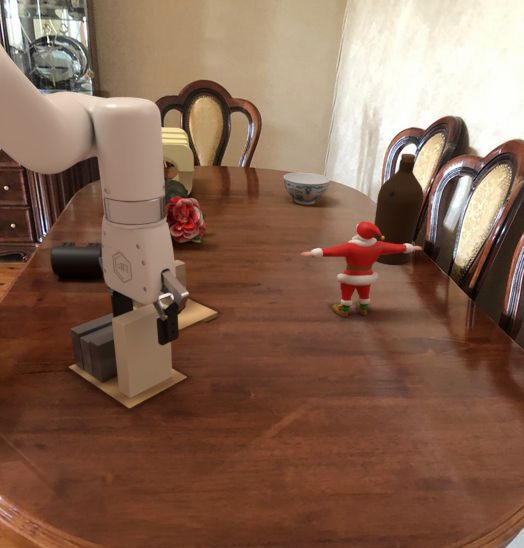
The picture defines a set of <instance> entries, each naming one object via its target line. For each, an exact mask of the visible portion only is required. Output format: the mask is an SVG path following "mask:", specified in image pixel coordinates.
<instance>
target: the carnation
mask: <svg viewBox="0 0 524 548" xmlns="http://www.w3.org/2000/svg"><path fill="white" fill-rule="evenodd" d="M164 181H165V182H164V183H165V201H166V218H167V219H166V222H167V223H168V226H169V230H170V235H171V240H172V239H173V240H174V241H175V242H177V243H180V244H182V243H186V242H192V243H197V244H198V243H199V244H200V243H202V241H203V235H204V234H205V232H206V230H207V227H206V226H207V225H206V223H205V221H204V220H205V219H206V218H207V216H206V214H205V213H203V212H202V211H201V210H202V209H201V206H200V202H198V200H197V198H193V197H189V195H188V190H186V188H185V186H184V185H183V184H182V183H180V182H179V181H176V180H171V179H168V180H164Z"/></svg>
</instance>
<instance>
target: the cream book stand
mask: <svg viewBox="0 0 524 548" xmlns="http://www.w3.org/2000/svg"><path fill="white" fill-rule="evenodd" d="M174 261H175V272H176V279H177V280H178V281H179V282H180V283H181V284H182V285H183V287H184V288H185V289H186V290H187V271H186V269H187V267H186V266H187V265H186V262H184V261H182V260H179V259H174ZM161 294H163V293H161V292H160V294H159V295H161ZM161 302H162V303H163V304H165V305H167V306H169V304H168V302H167V300H166V299H164V300H162V301H161ZM143 306H146V304H143V303H140V302H138V301H136V300H134V299H133V310H135V309H138V308H141V307H143ZM218 314H219V313H218V311H216V310H214V309H211V308H210V307H207V306H205V305H202V304H200V303H198V302H196V301H194V300H192V299H190V298H188V300H187V302H186V304H185V308H184V309H183V310H182V311H181V313H180V314H178V328H179V330H182V329H184V328H186V327H189V326H191V325H194V324H195V323H198V322H199V321H201V322H203V323H207V322H209V321H211V320H214V319H216V318H218V316H219V315H218Z"/></svg>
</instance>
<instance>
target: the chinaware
mask: <svg viewBox="0 0 524 548" xmlns="http://www.w3.org/2000/svg"><path fill="white" fill-rule="evenodd" d="M330 182H331V179H330V178H329V176H326V175H323V174H318V173H312V172H290V173H286V174H284V175H283V183H284V187H285V189H286V192H287V193H288V195H289V196H291V198H292V199H294V203H296V204H299V205H307V206H308V205H314V204H315V203H316V202H315V201H316V200H318V199H320V198H321V197H322V196H323V195H324V194H325V193H326V191H327V190H328V187H329V185H330Z"/></svg>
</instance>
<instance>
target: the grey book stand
mask: <svg viewBox="0 0 524 548" xmlns="http://www.w3.org/2000/svg"><path fill="white" fill-rule="evenodd" d="M112 318H113V312H110V313H108V314H106V315H103V316H100V317H98V318H94V319H92V320H90V321H87V322H85V323H82V324H79V325H77V326H74V327H71V328H69V331H70V337H71V344H72V349H73V357H74V363H73V364H72V365H69V366H68V368H69V369H70V370H72V371H73V372H75V373H76V374H77V375H80V376H81V377H82V378H84V379H85V380H87V382H90V383H91V384H92V385H93V386H96V387H97V388H98V389H100V390H101V391H103V392H104V393H106V394H107V395H109V396H110V397H111V398H113V399H114V400H116V401H117V402H119V403H120V404H122V405H124V407H126V408H128V409H131V408H133V407H135V406H137V405H138V404H141V403H143V402H144V401H146V400H148V399H150V398H152V397H153V396H156V395H157V394H159V393H161V392H163V391H164V390H166V389H168V388H170V387H172V386H173V385H176V384H177V383H179V382H181V381H183V380H184V379H186V378H188V377H187V376H186V375H185V374H183V373H181V372H180V371H177V370H176V369H174V368H172V377H170V378H168V379H166V380H164V381H162V382H160V383H159V384H157V385H155V386H153V387H151V388H149V389H147V390H145V391H143V392H141V393H139V394H138V395H136V396H134V397H132V398H129V397H128V396H126V395H125V394H123V393H122V392H120V391H119V383H118V373H117V364H116V354H115V344H114V334H113V325H112Z"/></svg>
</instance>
